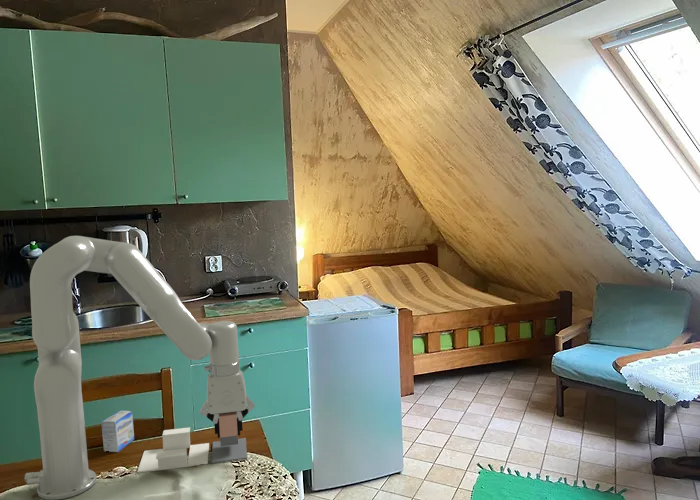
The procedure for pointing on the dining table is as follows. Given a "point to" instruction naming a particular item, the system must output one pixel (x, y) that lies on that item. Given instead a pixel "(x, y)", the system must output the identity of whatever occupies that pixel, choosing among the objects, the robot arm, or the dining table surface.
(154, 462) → the carton
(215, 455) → the mat
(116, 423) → the medicine box
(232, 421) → the box
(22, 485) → the dining table surface
